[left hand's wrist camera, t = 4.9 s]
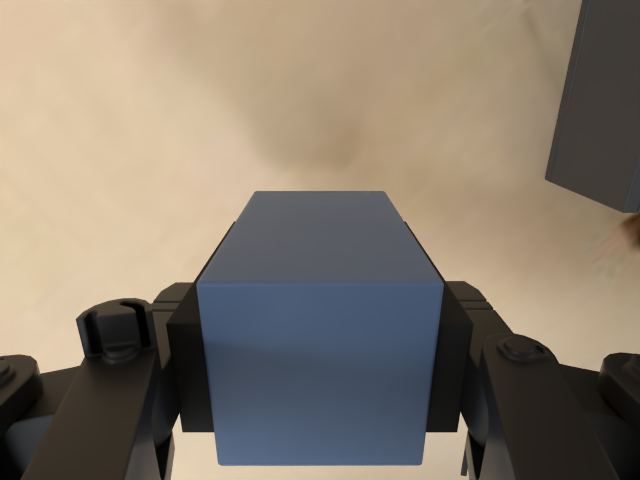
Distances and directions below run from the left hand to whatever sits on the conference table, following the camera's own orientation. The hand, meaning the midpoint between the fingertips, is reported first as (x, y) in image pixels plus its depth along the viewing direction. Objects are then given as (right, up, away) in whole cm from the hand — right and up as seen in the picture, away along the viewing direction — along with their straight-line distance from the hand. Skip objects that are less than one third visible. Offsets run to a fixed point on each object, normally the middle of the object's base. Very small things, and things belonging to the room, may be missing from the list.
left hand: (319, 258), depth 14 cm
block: (0, 0, 0) cm, 0 cm away
